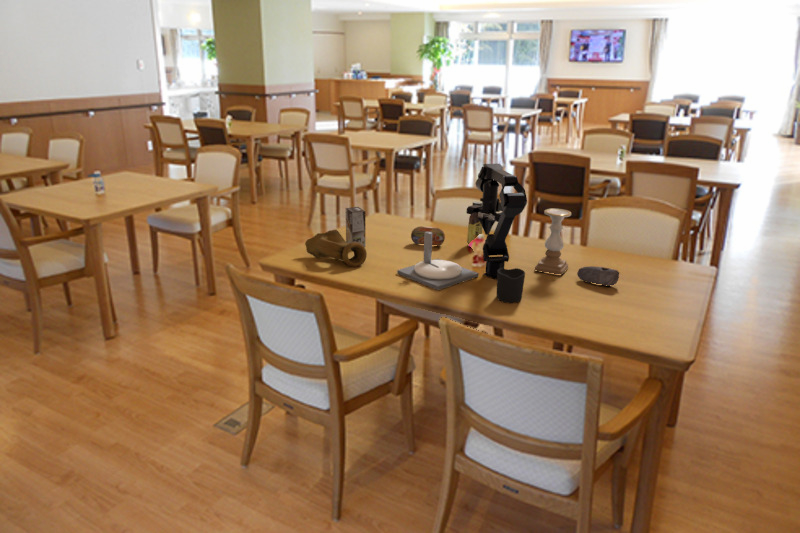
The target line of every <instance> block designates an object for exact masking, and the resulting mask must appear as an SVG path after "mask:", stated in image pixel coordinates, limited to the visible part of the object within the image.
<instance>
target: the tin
mask: <svg viewBox="0 0 800 533" xmlns="http://www.w3.org/2000/svg"><path fill="white" fill-rule="evenodd" d="M425 232H432V245H437V246H438V247H441V246H442V244H443V243H444V242H445V239H446V235H445V232H444V230H442V229H441V228H439V227H431V226H422V225H421V226H417V227H415V228H414V229H412V231H411V233H410V238H411V242H413V243H414V244H415V245H417V244H424V235H425Z"/></svg>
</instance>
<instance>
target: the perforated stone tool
mask: <svg viewBox="0 0 800 533" xmlns="http://www.w3.org/2000/svg"><path fill="white" fill-rule="evenodd" d="M576 275H577V277H578V279H580V280H581V281H582V280H584V281H587V282H586V283H589V282H592V283H596V284H602V285H604V286H605V285H607V286H610V285H614V284H615V285H616V284H617V283H618V281H619V278H620V272H619V270H618V269H613V268H608V267H603V266H593V265H592V266H583V267H580V268H579V269H578V270H577V273H576ZM584 281H583V282H584ZM615 285H614V286H615ZM610 287H611V286H610Z"/></svg>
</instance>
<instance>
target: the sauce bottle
mask: <svg viewBox="0 0 800 533" xmlns="http://www.w3.org/2000/svg"><path fill="white" fill-rule="evenodd" d="M472 205H478V206H482V201H472ZM478 214H479V213H476V212H474V213H473V214H472V215H471V214H469V217H468V224H467V226H468V228H467V237H466V238H467V239H466V242H467V243H468V244H469V243H470V242H471V241H472V240H474V239H475V238H476V237H477V236H478V235H479V234H482V235H483V227H482V225H481V223H480V221H479V219H478V218H477V217H478ZM467 243H466V244H467Z"/></svg>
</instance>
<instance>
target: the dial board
mask: <svg viewBox="0 0 800 533" xmlns="http://www.w3.org/2000/svg"><path fill="white" fill-rule="evenodd" d="M434 260H441V258H435V259H434ZM415 265H416V264H414V265H410V266H407V267H403V268H400V269H397V270H396V272H397V275H399V274H400V275H399V276H402V277H404V278H406V279H409V280H411V279H412V281H414V282H416V281H417V283H419V284H421V285H424V286H426V287H429V288H431V289H434V290H436V291H440V289H441V290H444V289H446V287H447V288H449V286H450V287H452V285H453V286H455V285H454V284H456V285H458V284H457V283H459V284H461V283H460V282H462V283H464V282H463V281H465V282H467V281H466V280H468V281H470V280H469V279H471V280H473V279H472V278H474V279H476V278H475V277H477V278H479V272H476V271H474V270H471V269H468V268H465V267H462V266H461V268H462V273H461V275H460V276H458V277H456V278H452V279H443V280H439V279H429V278H425V277H422V276H419V275H417V274H416V273H415ZM443 288H444V289H443Z"/></svg>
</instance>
